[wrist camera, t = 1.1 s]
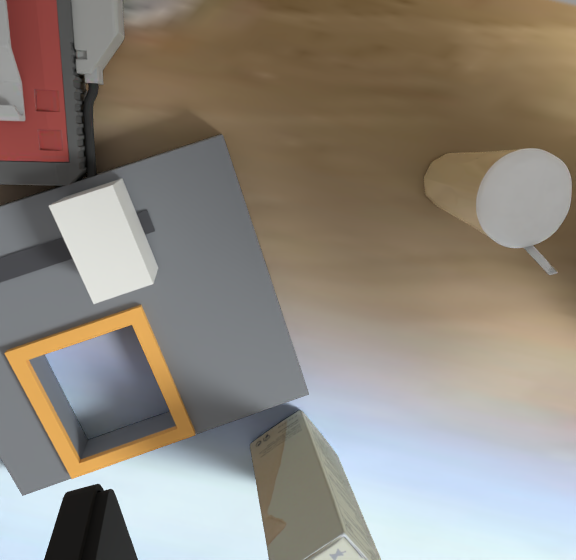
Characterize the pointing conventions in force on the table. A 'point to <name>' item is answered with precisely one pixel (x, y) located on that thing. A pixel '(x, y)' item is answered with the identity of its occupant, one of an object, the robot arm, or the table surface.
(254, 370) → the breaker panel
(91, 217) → the block
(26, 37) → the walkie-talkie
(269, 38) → the table surface
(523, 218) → the milkshake
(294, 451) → the box
